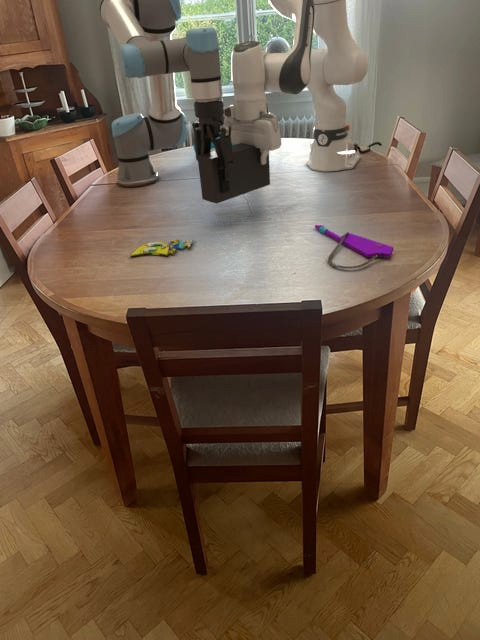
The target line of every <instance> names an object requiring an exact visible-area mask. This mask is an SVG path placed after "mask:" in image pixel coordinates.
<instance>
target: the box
mask: <svg viewBox="0 0 480 640" xmlns="http://www.w3.org/2000/svg"><path fill="white" fill-rule="evenodd" d="M232 150H233V158H234V166H231V167H229V175H230V180H229V184H230V191H228V192H225V193H221V189H220V180H219V170H218V168H220V164H219V161H218V157H217V154H216V150H215V151H212V152H208V153H205V154H201V155H197V158H198V161H197V165H198V173H199V174H198V175H199V180H200V181H199V183H200V190H201V191H200V192H201V198H202V200H203V201H207V202H209V203H213V204H216V205H217V204H220V203H222V202H226V201H229V200H230V199H234V198H236V197H239V196H242V195H245V194H248V193H250V192H253V191H256V190H259V189H262V188H265V187H267V186H270V185H271V171H270V170H271V169H270V152H269V153H268V155H267V157H266V160H267V163H266V164H264V165H262V164H259V159H258V158H260V157H261V154H262V153H261V152H260V148H256V147H255V146H253V145H247V144H242V143H240V144H236V145H233V146H232Z"/></svg>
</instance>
